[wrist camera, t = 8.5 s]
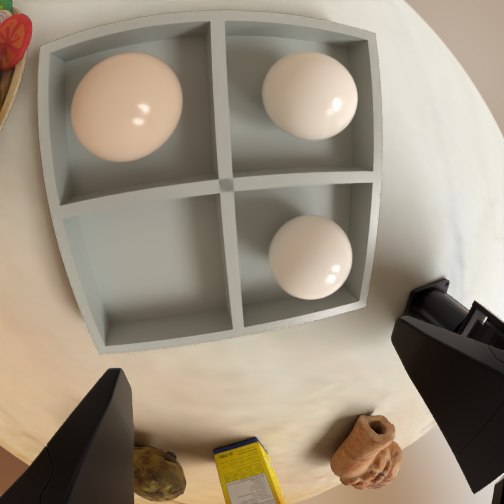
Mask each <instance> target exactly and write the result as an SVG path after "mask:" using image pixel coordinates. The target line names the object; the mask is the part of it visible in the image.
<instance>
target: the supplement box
mask: <svg viewBox="0 0 504 504" xmlns="http://www.w3.org/2000/svg"><path fill="white" fill-rule="evenodd" d="M213 453H214V458H215V462H216V467H217V471H218V475H219V479H220V483H221V487H222V491H223V494H224V498H225V502H226V504H287V503H286V500H285V498H284V495H283V493H282V490H281V488H280V485H279V482H278V480H277V477H276V475H275V472H274V469H273V467H272V464H271V461H270V459H269V456H268V453H267V451H266V450H265V449H264V447H263V446H262V444H261V443H260V442H259V440H258V439H257V437H255V438H253V439H249V440H247V441H243V442H240V443H237V444H234V445H230V446H227V447H223V448H219V449H215V450H213Z"/></svg>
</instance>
